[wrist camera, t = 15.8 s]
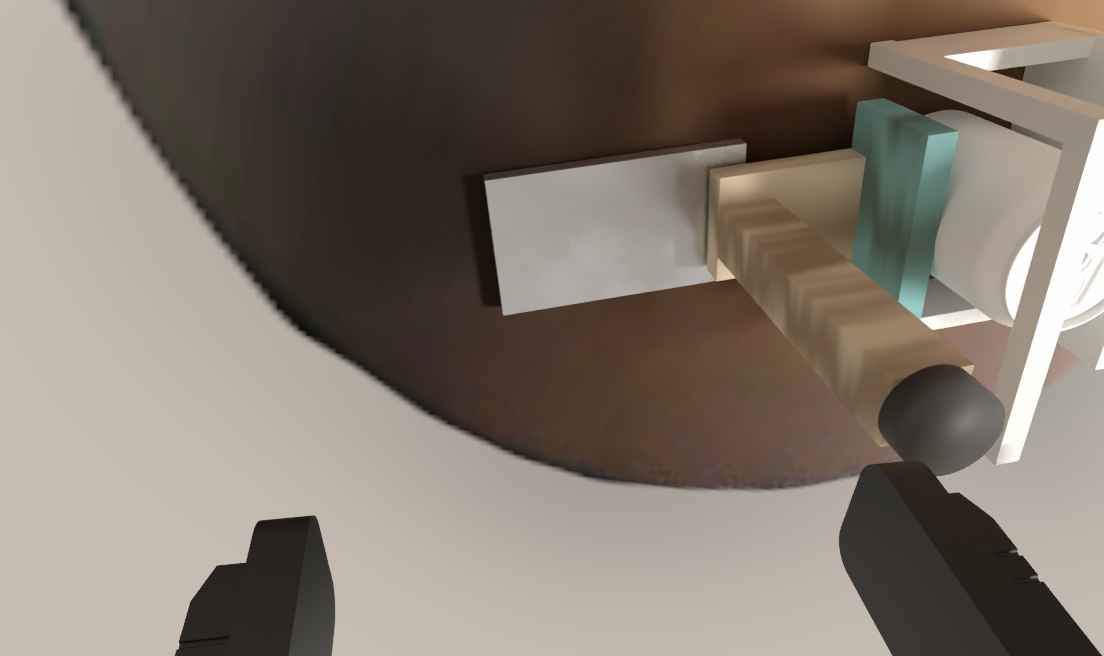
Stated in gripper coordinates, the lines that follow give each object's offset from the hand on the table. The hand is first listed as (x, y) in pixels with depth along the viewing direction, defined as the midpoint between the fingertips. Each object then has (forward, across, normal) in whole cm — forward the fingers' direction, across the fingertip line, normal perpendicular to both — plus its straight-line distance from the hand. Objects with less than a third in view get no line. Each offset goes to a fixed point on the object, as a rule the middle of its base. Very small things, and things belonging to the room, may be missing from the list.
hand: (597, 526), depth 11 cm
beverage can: (+30, -26, +9) cm, 41 cm away
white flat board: (+29, -7, +11) cm, 32 cm away
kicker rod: (+29, -17, +10) cm, 34 cm away
